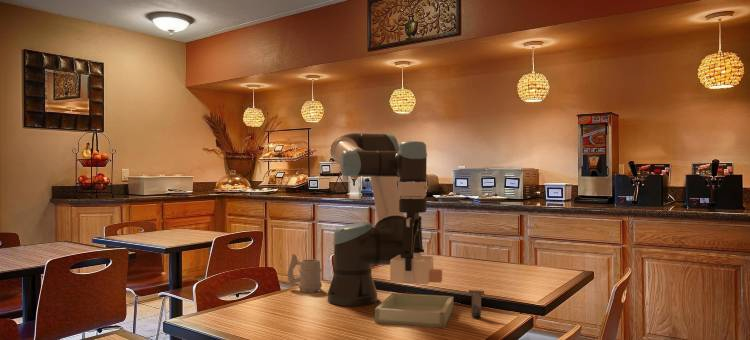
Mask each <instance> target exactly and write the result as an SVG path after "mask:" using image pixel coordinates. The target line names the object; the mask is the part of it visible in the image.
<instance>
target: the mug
mask: <svg viewBox="0 0 750 340" xmlns="http://www.w3.org/2000/svg"><path fill="white" fill-rule="evenodd" d="M296 266H300V268H299V276H298V277H295V276H294V269H295V267H296ZM287 269H288V270H287V281H288V283H289V285H290V287H293V286H295V284H297V283H299V284H298V288H299V292H301V291H303V292H302V293H308V292H309V293H310V292H312V293H316V292H315V291H318V292H320V291H319V290H322V287H323V283H322V282H321V280H322V279H321V278H322V277H321V272H322V268H321V261H320V259H312V258H311V259H302V260H299V261H298V257H297V255H296V254H295V253H292V254H291V260H290V263H289V265H288V268H287Z"/></svg>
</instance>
